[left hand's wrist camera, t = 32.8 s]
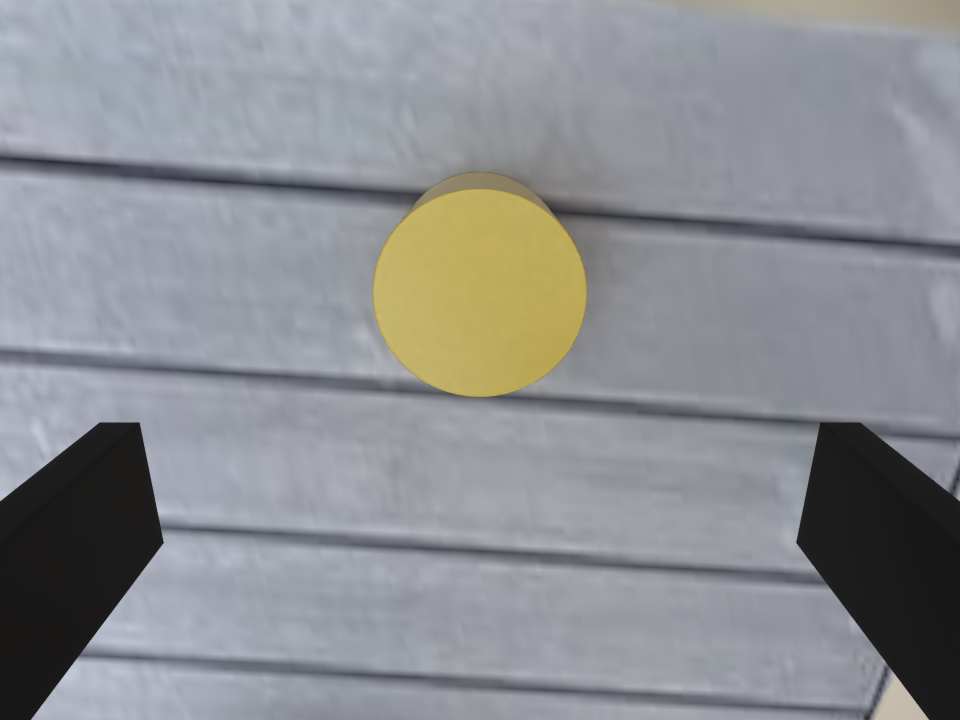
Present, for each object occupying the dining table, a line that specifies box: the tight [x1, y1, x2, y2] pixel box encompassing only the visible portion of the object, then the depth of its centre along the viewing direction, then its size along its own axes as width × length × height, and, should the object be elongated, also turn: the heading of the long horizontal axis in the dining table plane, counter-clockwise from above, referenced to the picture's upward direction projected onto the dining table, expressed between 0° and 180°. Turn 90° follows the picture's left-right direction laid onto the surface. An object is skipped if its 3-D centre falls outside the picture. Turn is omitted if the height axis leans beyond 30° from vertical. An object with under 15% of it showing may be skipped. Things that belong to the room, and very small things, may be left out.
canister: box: [373, 172, 587, 397], centre depth 30 cm, size 9×9×8 cm
